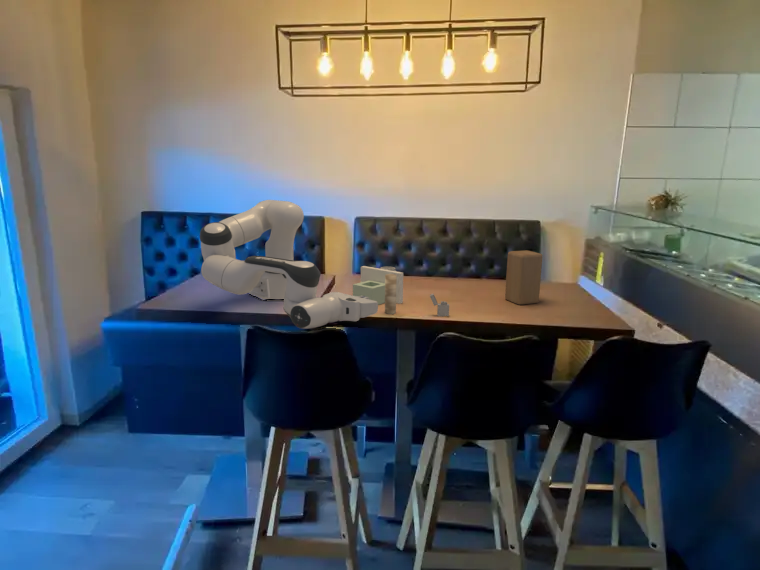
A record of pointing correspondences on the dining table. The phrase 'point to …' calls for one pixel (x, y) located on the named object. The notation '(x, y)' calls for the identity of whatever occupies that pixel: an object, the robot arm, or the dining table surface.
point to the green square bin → (370, 290)
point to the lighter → (440, 306)
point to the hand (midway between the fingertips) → (365, 298)
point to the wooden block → (523, 277)
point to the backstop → (383, 279)
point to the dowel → (390, 293)
